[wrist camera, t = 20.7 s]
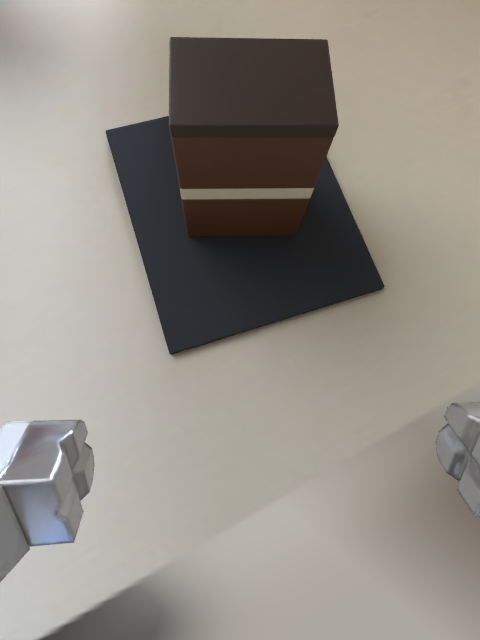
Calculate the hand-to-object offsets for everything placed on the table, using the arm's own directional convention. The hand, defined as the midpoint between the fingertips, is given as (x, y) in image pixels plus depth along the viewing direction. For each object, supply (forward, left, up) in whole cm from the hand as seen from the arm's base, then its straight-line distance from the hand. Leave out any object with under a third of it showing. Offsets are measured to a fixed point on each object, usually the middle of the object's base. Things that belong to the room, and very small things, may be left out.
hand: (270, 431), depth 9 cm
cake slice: (+12, -4, -10) cm, 16 cm away
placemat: (+12, -4, -11) cm, 16 cm away
